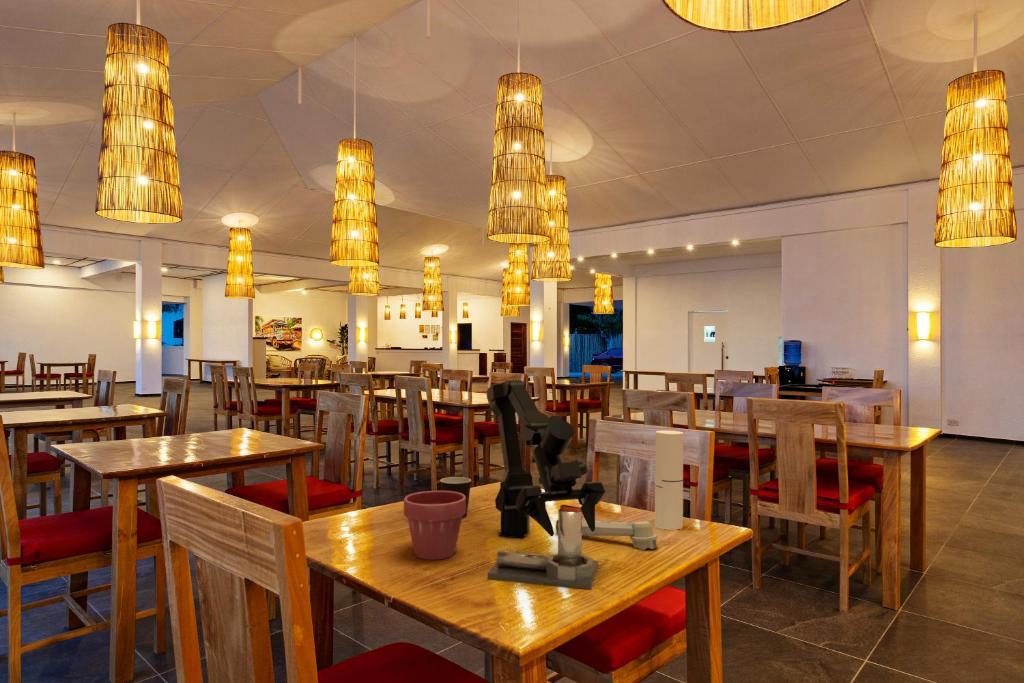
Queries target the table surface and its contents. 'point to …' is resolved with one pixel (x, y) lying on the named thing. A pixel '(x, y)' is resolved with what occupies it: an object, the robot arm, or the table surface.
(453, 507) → the plant pot
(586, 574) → the metal plate with ring
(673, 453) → the cylindrical container
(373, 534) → the table surface
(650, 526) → the grey long bar
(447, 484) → the coffee mug
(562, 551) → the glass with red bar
